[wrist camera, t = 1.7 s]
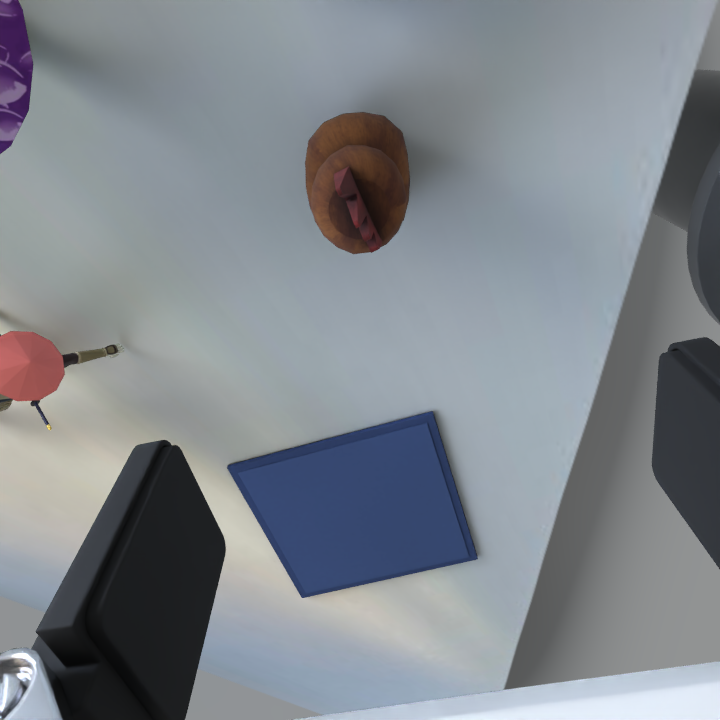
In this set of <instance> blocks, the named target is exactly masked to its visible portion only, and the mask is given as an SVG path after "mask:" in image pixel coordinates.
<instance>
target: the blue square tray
mask: <svg viewBox="0 0 720 720" xmlns="http://www.w3.org/2000/svg"><path fill="white" fill-rule="evenodd" d="M227 469H228V470H229V472H230V474H231V476H232V477H233V479H234V481H235V483H236V484H237V486H238V488H239V489H240V491H241V493H242V495H243V496H244V498H245V500H246V502H247V503H248V505H249V507H250V509H251V510H252V512H253V514H254V516H255V517H256V519H257V521H258V522H259V524H260V526H261V528H262V529H263V531H264V533H265V535H266V536H267V538H268V540H269V542H270V543H271V545H272V547H273V549H274V550H275V552H276V554H277V555H278V557H279V559H280V561H281V562H282V564H283V566H284V568H285V569H286V571H287V573H288V575H289V576H290V578H291V580H292V581H293V583H294V585H295V587H296V588H297V590H298V592H299V594H300V595H301V597H302V598H305V597H310V596H314V595H319V594H323V593H328V592H332V591H337V590H341V589H346V588H350V587H355V586H359V585H364V584H368V583H373V582H377V581H382V580H386V579H391V578H395V577H400V576H404V575H409V574H413V573H418V572H422V571H427V570H431V569H436V568H440V567H445V566H449V565H454V564H458V563H463V562H467V561H472V560H476V559H478V558H477V554H476V551H475V548H474V545H473V541H472V538H471V535H470V532H469V528H468V525H467V522H466V519H465V515H464V512H463V509H462V505H461V502H460V499H459V496H458V492H457V489H456V486H455V483H454V479H453V476H452V473H451V470H450V466H449V463H448V460H447V456H446V453H445V450H444V447H443V443H442V440H441V437H440V434H439V430H438V427H437V424H436V421H435V417H434V414H433V411H432V412H428V413H424V414H420V415H416V416H413V417H409V418H405V419H401V420H397V421H394V422H390V423H386V424H382V425H378V426H375V427H371V428H367V429H363V430H359V431H356V432H352V433H348V434H344V435H340V436H337V437H333V438H329V439H325V440H321V441H318V442H314V443H310V444H306V445H302V446H299V447H295V448H291V449H287V450H284V451H280V452H276V453H272V454H268V455H265V456H261V457H257V458H253V459H249V460H246V461H242V462H238V463H234V464H230V465H228V467H227Z"/></svg>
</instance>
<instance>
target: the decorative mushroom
mask: <svg viewBox="0 0 720 720" xmlns="http://www.w3.org/2000/svg"><path fill="white" fill-rule="evenodd" d="M32 72H33V61H32V55H31V50H30V45H29V40H28V35H27V30H26V25H25V20H24V15H23V10H22V8H21V5H20V3H19V1H18V0H0V154H1V153H2V152H3V151H5V150H6V149H7V148H9V147H10V146H11V144H12V142H13V141H14V139H15V137H16V135H17V133H18V131H19V129H20V127H21V125H22V123H23V121H24V119H25V117H26V115H27V113H28V111H29V102H30V92H31V82H32Z"/></svg>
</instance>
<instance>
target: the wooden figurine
mask: <svg viewBox="0 0 720 720" xmlns="http://www.w3.org/2000/svg"><path fill="white" fill-rule="evenodd" d="M305 167H306V189H307V194H308V199H309V204H310V208H311V210H312V213H313V215H314V218H315V222H316V223H317V225H318V227H319V228H320V230H321V232H322V233H323V235H324V236H325V237H326V238H327V239H328V240H329V241H331V242H332V243H333V244H334V245H335V246H336V247H338V248H340V249H343V250H345V251H348V252H350V253H352V254H358V253H366V252H371V253H372V252H374V251H376V250H378V249H379V248H380V247H382V246H384V245H386V244H387V243H388V242H389V241H390V240H391V239H392V237H393V236H394V235H395V234H396V233H397V232H398V230H399V228H400V226H401V223H402V221H403V220H404V217H405V213H406V209H407V205H408V201H409V187H410V175H409V165H408V154H407V150H406V146H405V141H404V137H403V133H402V132H401V130H400V129H399V128H397V127H396V126H395V125H394V124H393V123H392V122H391V121H389V120H388V119H387V118H386V117H385V116H382V115H376V114H370V113H365V112H360V113H346V114H341V115H339V116H337V117H335V118H332V119H330V120H328V121H326V122H324V123H323V124H322V125H321V126H320V127H319V129H318V130H317V131H316V132H315V133H314V135H313V136H312V137H311V138H310V139H309V142H308V148H307V155H306V161H305Z"/></svg>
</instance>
